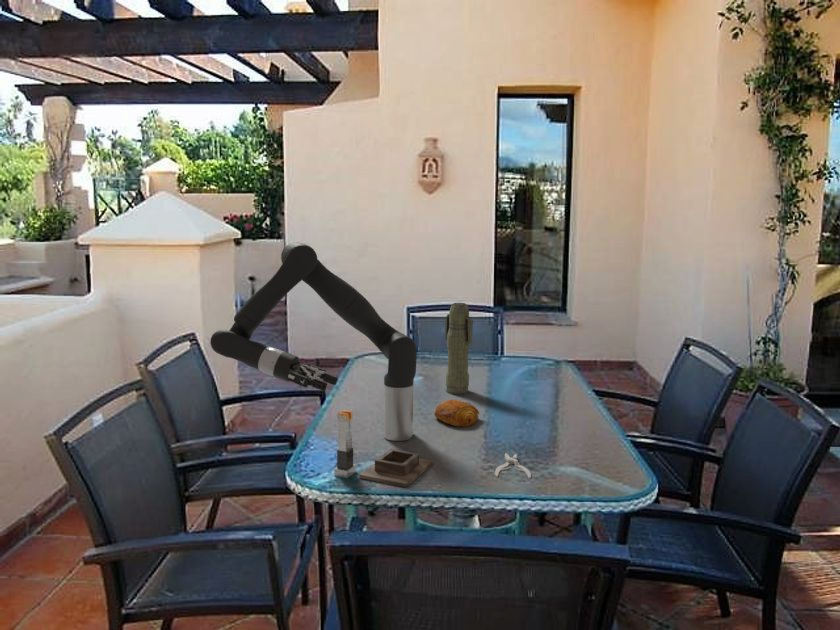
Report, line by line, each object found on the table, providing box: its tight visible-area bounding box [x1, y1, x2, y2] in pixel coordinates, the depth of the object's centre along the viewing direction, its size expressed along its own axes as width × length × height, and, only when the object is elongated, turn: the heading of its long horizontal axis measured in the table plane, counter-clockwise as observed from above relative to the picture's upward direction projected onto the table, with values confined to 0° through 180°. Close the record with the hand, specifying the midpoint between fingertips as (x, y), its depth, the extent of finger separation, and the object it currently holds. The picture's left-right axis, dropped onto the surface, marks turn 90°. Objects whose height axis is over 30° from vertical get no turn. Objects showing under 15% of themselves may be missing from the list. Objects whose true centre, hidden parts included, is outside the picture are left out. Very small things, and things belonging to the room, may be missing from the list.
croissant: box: [434, 399, 480, 428], centre depth 236 cm, size 14×16×8 cm
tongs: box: [333, 409, 357, 479], centre depth 188 cm, size 5×4×18 cm
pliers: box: [494, 452, 532, 480], centre depth 196 cm, size 10×2×15 cm
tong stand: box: [358, 448, 434, 488], centre depth 192 cm, size 18×14×4 cm
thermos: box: [445, 302, 474, 395], centre depth 268 cm, size 9×12×35 cm
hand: (331, 384), depth 189 cm, fingers open, 8 cm apart
